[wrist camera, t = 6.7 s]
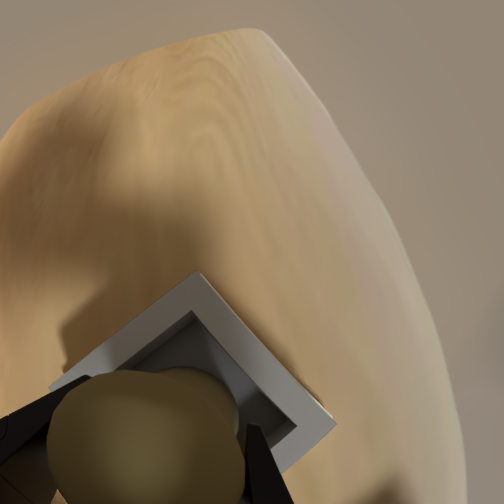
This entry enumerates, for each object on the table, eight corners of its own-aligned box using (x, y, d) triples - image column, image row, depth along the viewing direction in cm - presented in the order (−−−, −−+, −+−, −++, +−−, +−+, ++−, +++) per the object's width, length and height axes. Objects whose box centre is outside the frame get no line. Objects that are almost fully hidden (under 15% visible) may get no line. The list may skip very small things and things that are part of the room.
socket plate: (186, 522, 12) (179, 547, 9) (66, 384, 15) (38, 383, 12) (327, 415, 16) (349, 422, 13) (202, 278, 19) (198, 257, 16)
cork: (126, 449, 13) (15, 519, 3) (142, 354, 15) (29, 312, 5) (230, 473, 13) (247, 595, 3) (248, 377, 15) (296, 381, 5)
